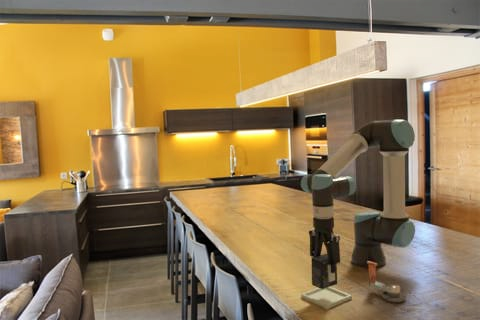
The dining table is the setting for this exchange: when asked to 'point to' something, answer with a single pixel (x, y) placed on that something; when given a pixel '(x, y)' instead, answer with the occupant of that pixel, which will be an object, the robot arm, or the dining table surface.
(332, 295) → the tray
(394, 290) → the crank
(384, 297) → the crank base
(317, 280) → the box
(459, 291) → the dining table surface
